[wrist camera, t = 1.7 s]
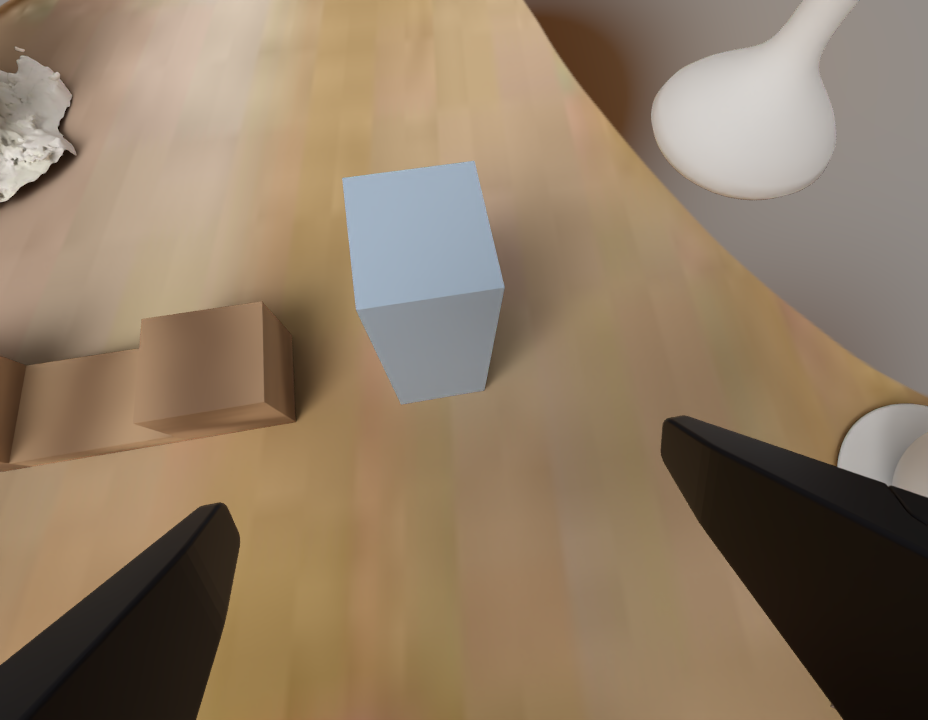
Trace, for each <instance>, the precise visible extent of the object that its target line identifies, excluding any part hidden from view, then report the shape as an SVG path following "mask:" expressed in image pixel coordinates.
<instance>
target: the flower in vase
mask: <svg viewBox="0 0 928 720" xmlns="http://www.w3.org/2000/svg"><path fill="white" fill-rule="evenodd" d="M858 2H859V0H802V2H801V3H800V5H799V6H798V7H797V9H796V10H795V12H794V13H793V14H792V16H791V17H790V19H789V20H788V21H787V22H786V24H785V25H784V26H783V27H782V28H781V29H780V30H779V32H778V33H777V34H776V35H774V36H773V37H772V38H771V39H769V40H768V41H766V42H764V43H762V44H760V45H755V46H752V47H747V48H741V49H736V50H731V51H727V52H722V53H718V54H714V55H711V56H708V57H706V58H703V59H701V60H698V61H696V62H693V63H691V64H689V65H687V66H685V67H684V68H682V69H680V70H679V71H678V72H677V73H675V74H674V75H673V76H672V77H671V78H670V79H669V80H668V81H667V82H666V83H665V84H664V85H663V86H662V88H661V89H660V90H659V92H658V93H657V95H656V97H655V99H654V102H653V105H652V111H651V121H652V127H653V132H654V136H655V140H656V142H657V145H658V147H659V149H660V151H661V152H662V154H663V155H664V156H665V158H666V160H667V161H668V162H669V163H670V164H671V165H672V166H673V167H674V168H675V170H676V171H678V172H679V173H680V174H681V175H683V176H684V177H685V178H687V179H688V180H690V181H691V182H693V183H694V184H696V185H698V186H700V187H702V188H704V189H706V190H709V191H711V192H713V193H716V194H719V195H723V196H726V197H731V198H736V199H745V200H764V199H772V198H777V197H781V196H785V195H789V194H793V193H795V192H798V191H800V190H803V189H804V188H806V187H808V186H809V185H811V184H812V183H813V182H814V181H816V180H817V179H818V178H819V177H820V176H821V174H822V173H823V172H824V170H825V169H826V167H827V165H828V163H829V161H830V158H831V156H832V154H833V152H834V148H835V145H836V125H835V116H834V111H833V107H832V105H831V102H830V99H829V96H828V94H827V91H826V89H825V86H824V84H823V82H822V79H821V76H820V73H819V62H820V59H821V55H822V53H823V51H824V49H825V47H826V46H827V44H828V42H829V40H830V39H831V37H832V36H833V34H834V33H835V32H836V30H837V29H838V27H839V25H840V24H841V23H842V22H843V20H844V19H845V18H846V16H847V15H848V14H849V13H850V11H851V10H852V9H853V8H854V7H855V5H856V4H857V3H858Z"/></svg>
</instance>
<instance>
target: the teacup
mask: <svg viewBox="0 0 928 720" xmlns="http://www.w3.org/2000/svg"><path fill="white" fill-rule="evenodd" d="M837 467H839V468H842V469H845V470H848V471H851V472H854V473H857V474H860V475H863V476H866V477H868V478H871V479H874V480H877V481H880V482H883V483H885V484H887V486H890V485H892V486H895V487H898V488H901V489H904V490H907V491H910V492H913V493H916V494H919V495H922V496H925V497H928V406H925V405H918V404H893V405H888V406H884V407H880V408H877V409H875V410H873V411H871V412H869V413H867V414H866V415H864V416H863V417H861V418H860V419H859V420H858V421H857V422H856V423H855V424H854V425H853V426H852V427H851V429H850V430H849V432H848V433H847V435H846V436H845V438H844V440H843V443H842V446H841V449H840V452H839V457H838V465H837Z"/></svg>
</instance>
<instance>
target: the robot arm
mask: <svg viewBox="0 0 928 720" xmlns="http://www.w3.org/2000/svg"><path fill="white" fill-rule="evenodd" d="M661 456H662V459H663V462H664V464H665V465H666V467H667V469H668V471H669V472H670V474H671V476H672V477H673V479H674V481H675V482H676V484H677V486H678V488H679V489H680V491H681V493H682V494H683V496H684V498H685V500H686V501H687V503H688V505H689V506H690V508H691V510H692V511H693V513H694V515H695V516H696V518H697V520H698V521H699V523H700V524H701V526H702V527H703V529H704V530H705V531H706V533H707V534H708V536H709V537H710V538H711V540H712V541H713V542H714V544H715V545H716V547H717V548H718V549H719V551H720V552H721V553H722V555H723V556H724V557H725V559H726V560H727V562H728V563H729V564H730V566H731V567H732V568H733V570H734V571H735V572H736V574H737V575H738V577H739V578H740V579H741V581H742V582H743V583H744V585H745V586H746V587H747V589H748V590H749V592H750V593H751V594H752V596H753V597H754V598H755V600H756V601H757V602H758V604H759V605H760V607H761V608H762V609H763V611H764V612H765V613H766V615H767V616H768V617H769V619H770V620H771V622H772V623H773V624H774V626H775V627H776V628H777V630H778V631H779V632H780V634H781V635H782V637H783V638H784V639H785V641H786V642H787V643H788V645H789V646H790V647H791V649H792V650H793V652H794V653H795V654H796V656H797V657H798V658H799V660H800V661H801V662H802V664H803V665H804V667H805V668H806V669H807V671H808V672H809V673H810V675H811V676H812V677H813V679H814V680H815V682H816V683H817V684H818V686H819V687H820V688H821V690H822V691H823V692H824V694H825V695H826V697H827V698H828V699H829V701H830V702H831V703H832V705H833V706H834V707H835V709H836V710H837V712H838V713H839V714H840V716H841V717H842V718H843V720H928V497H925V496H922V495H919V494H916V493H913V492H910V491H907V490H904V489H901V488H898V487H895V486H892V485H890V486H887V484H885V483H883V482H880V481H877V480H874V479H871V478H868V477H866V476H863V475H860V474H857V473H854V472H851V471H848V470H845V469H842V468H839V467H836V466H833V465H830V464H827V463H824V462H821V461H818V460H815V459H812V458H809V457H806V456H804V455H801V454H798V453H795V452H792V451H789V450H786V449H783V448H780V447H777V446H774V445H771V444H768V443H765V442H762V441H759V440H756V439H753V438H750V437H748V436H745V435H742V434H739V433H736V432H733V431H730V430H727V429H724V428H721V427H718V426H715V425H712V424H709V423H706V422H703V421H700V420H697V419H694V418H692V417H689V416H685V415H682V416H676V417H671V418H667V419H666V420H665V421H664V422H663V427H662V439H661ZM239 548H240V536H239V532H238V530H237V527H236V525H235V523H234V521H233V519H232V516H231V514H230V512H229V510H228V508H227V506H226V505H225V504H224V503H214V504H209V505H204V506H201V507H199V508H197V509H196V510H195V511H193V512H192V513H191V514H190V515H188V516H187V517H186V518H185V519H183V520H182V521H181V522H180V523H178V524H177V525H176V526H175V527H173V528H172V529H171V530H170V531H168V532H167V533H166V534H165V535H163V536H162V537H161V538H160V539H158V540H157V541H156V542H155V543H153V544H152V545H151V546H149V547H148V548H147V549H146V550H144V551H143V552H142V553H141V554H139V555H138V556H137V557H136V558H134V559H133V560H132V561H131V562H129V563H128V564H127V565H126V566H124V567H123V568H122V569H121V570H119V571H118V572H117V573H116V574H114V575H113V576H112V577H111V578H109V579H108V580H107V581H106V582H104V583H103V584H102V585H100V586H99V587H98V588H97V589H95V590H94V591H93V592H92V593H90V594H89V595H88V596H87V597H85V598H84V599H83V600H82V601H80V602H79V603H78V604H77V605H75V606H74V607H73V608H72V609H70V610H69V611H68V612H67V613H65V614H64V615H63V616H62V617H60V618H59V619H58V620H57V621H55V622H54V623H53V624H51V625H50V626H49V627H48V628H46V629H45V630H44V631H43V632H41V633H40V634H39V635H38V636H36V637H35V638H34V639H33V640H31V641H30V642H29V643H28V644H26V645H25V646H24V647H23V648H21V649H20V650H19V651H18V652H16V653H15V654H14V655H13V656H11V657H10V658H9V659H8V660H6V661H5V662H4V663H2V664H1V665H0V720H196V718H197V715H198V711H199V708H200V705H201V702H202V698H203V695H204V692H205V688H206V685H207V682H208V678H209V675H210V672H211V668H212V665H213V662H214V658H215V655H216V652H217V648H218V645H219V642H220V639H221V635H222V631H223V628H224V624H225V620H226V615H227V611H228V606H229V600H230V595H231V590H232V584H233V579H234V574H235V569H236V563H237V558H238V553H239Z"/></svg>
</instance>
